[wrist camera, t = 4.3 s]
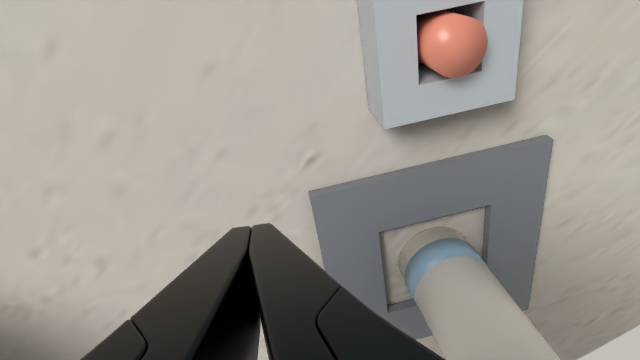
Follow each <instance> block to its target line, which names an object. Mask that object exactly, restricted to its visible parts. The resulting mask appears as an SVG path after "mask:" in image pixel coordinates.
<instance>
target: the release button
mask: <svg viewBox="0 0 640 360" xmlns="http://www.w3.org/2000/svg"><path fill="white" fill-rule="evenodd" d="M416 23H417V49H418V61H419V62H421V63H423V64H424V65H426V66H428V67H429V68H431V69H432V70H434V71H436V72H437V73H439V74H441V75H442V76H445V77H447V78H460V77H463V76H465V75H467V74H469V73H471V72H472V71H473V70H474V69H476V68H477V66H478V65H479V64H480V63H481V61H482V60H483V58H484V56H485V53H486V50H487V45H488V37H487V32H486V30H485V28H484V26H483V25H482V24H481V22H479V21H478V20H476V19H475V18H472V17H468V16H465V15H461V14H458V13H454V12H450V11H447V10H438V11H434V12H429V13H424V14H422V15H421V16H420V17H419V18H418V19H417V20H416Z"/></svg>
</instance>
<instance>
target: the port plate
mask: <svg viewBox="0 0 640 360" xmlns="http://www.w3.org/2000/svg"><path fill="white" fill-rule="evenodd" d="M552 145H553V139H552V138H551V137H549V136H547V135H544V136H540V137H536V138H532V139H527V140H523V141H519V142H515V143H511V144H506V145H502V146H498V147H494V148H489V149H485V150H481V151H477V152H473V153H468V154H464V155H460V156H456V157H452V158H447V159H443V160H439V161H435V162H431V163H426V164H422V165H418V166H414V167H410V168H405V169H401V170H397V171H393V172H389V173H384V174H380V175H376V176H372V177H368V178H363V179H359V180H355V181H351V182H347V183H342V184H338V185H334V186H330V187H325V188H321V189H317V190H313V191H309V196H310V201H311V206H312V210H313V215H314V220H315V224H316V229H317V234H318V239H319V243H320V248H321V253H322V257H323V262H324V267H325V271H326V272H327V273H328V274H329V275H330V276H331V277H332V278H333V279H335V280H336V281H337V282H338V283H339V284H340V285H341V286H342V287H344V288H346V289H347V290H348V291H349V292H350V293H351V294H353V295H354V296H355V297H356V298H357V299H359V300H360V301H361V302H362V303H364V304H365V305H366V306H367V307H369V308H370V309H371V310H372V311H374V312H375V313H376V314H378V315H379V316H381V317H382V318H384V319H385V320H386V321H388V322H389V323H391V324H392V325H394V326H395V327H396V328H398V329H399V330H401V331H402V332H404V333H406V334H407V335H409V336H410V337H412V338H413V339H415V340H416V339H420V338H424V337H427V336H431V335H433V334H432V332H431V330H430V328H429V326H428V324H427V322H426V320H425V318H424V316H423V315H422V313H421V311H420V309H419V307H418V306H417V304H416V303H415V301H414V299H412V300H408V301H404V302H400V303H397V304H393V305H389V306H387V301H386V292H385V284H384V275H383V266H382V257H381V248H380V239H379V232H383V231H387V230H391V229H395V228H399V227H403V226H407V225H411V224H415V223H419V222H423V221H427V220H431V219H435V218H439V217H443V216H447V215H451V214H455V213H459V212H463V211H467V210H471V209H475V208H479V207H483V206H485V222H484V240H483V257H482V260H483V261H484V262H485V263H486V265H487V266H488V269H489V270H490V271H491V272H492V274H493V275H494V276H495V277H496V279H497V280H498V281H499V282H500V284H501V285H502V286H503V287H504V289H505V290H506V291H507V293H508V294H509V295H510V296H511V298H512V299H513V300H514V301H515V303H516V304H517V305H518V306H519V308H520V309H521V310H522V311H524V310H527V309H528V307H529V300H530V293H531V286H532V280H533V273H534V266H535V259H536V253H537V246H538V239H539V232H540V226H541V219H542V212H543V206H544V199H545V192H546V185H547V179H548V172H549V165H550V158H551V152H552Z"/></svg>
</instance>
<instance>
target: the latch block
mask: <svg viewBox="0 0 640 360" xmlns="http://www.w3.org/2000/svg"><path fill="white" fill-rule="evenodd" d="M523 1H524V0H357V4H358V13H359V22H360V31H361V41H362V50H363V59H364V69H365V78H366V87H367V97H368V106H369V111H370V113H371V114H372V115H373V116H374V117H375V119H376V120H377V121H378V122H379V123H380V125H381V126H382V127H383V128H384V129H389V128H393V127H398V126H402V125H406V124H411V123H415V122H419V121H424V120H428V119H432V118H437V117H441V116H446V115H450V114H454V113H459V112H463V111H467V110H472V109H476V108H480V107H485V106H489V105H493V104H498V103H502V102H506V101H511V100H515V91H516V80H517V68H518V57H519V46H520V35H521V23H522V12H523ZM453 7H456V13H458V14H461V15H465V16H468V17H472V18H475V19H476V20H478V21H479V22H481V24H482V25H483V26H484V28H485V30H486V32H487V37H488V45H487V50H486V53H485V56H484V58H483V60H482V61H481V63H480V64H479V65H478V66H477V68H476V69H474V70H473V71H472V72H471V73H469V74H467V75H465V76H463V77H460V78H447V77H445V76H442V75H441V74H439V73H437V72H436V71H434V70H432V69H431V68H429V67H428V66H426V65H423V66H419V67H418V49H417V23H416V15H419V14H424V13H429V12H434V11H438V10H443V9H448V8H453Z"/></svg>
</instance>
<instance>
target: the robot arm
mask: <svg viewBox="0 0 640 360" xmlns="http://www.w3.org/2000/svg"><path fill="white" fill-rule="evenodd" d="M260 317H261V318H260ZM260 322H261V323H262V328H263V333H264V338H265V343H266V348H267V353H268V357H269V360H445V359H444V358H442V357H441V356H439V355H437V354H436V353H434V352H433V351H431V350H430V349H428V348H427V347H425V346H424V345H422V344H421V343H419V342H418V341H416V340H415V339H413V338H412V337H410V336H409V335H407V334H406V333H404V332H402V331H401V330H399V329H398V328H396V327H395V326H394V325H392V324H391V323H389V322H388V321H386V320H385V319H384V318H382V317H381V316H379V315H378V314H376V313H375V312H374V311H372V310H371V309H370V308H369V307H367V306H366V305H365V304H364V303H362V302H361V301H360V300H359V299H357V298H356V297H355V296H354V295H353V294H351V293H350V292H349V291H348V290H347V289H346V288H344V287H342V286H341V285H340V284H339V283H338V282H337V281H336V280H335V279H333V278H332V277H331V276H330V275H329V274H328V273H327V272H325V271H324V270H323V269H322V268H321V267H320V266H319V265H318V264H316V263H315V262H314V261H313V260H312V259H311V258H310V257H308V256H307V255H306V254H305V253H304V252H303V251H302V250H300V249H299V248H298V247H297V246H296V245H295V244H294V243H292V242H291V241H290V240H289V239H288V238H287V237H286V236H284V235H283V234H282V233H281V232H280V231H279V230H278V229H277V228H275V227H274V226H273V225H272V224H270V223H267V224H259V225H254V226H253V227H252V228H251V227H249V226H245V227H237V228H233V229H231V230H230V231H229V232H227V233H226V234H225V235H224V236H223V237H222V238H221V239H220V240H218V241H217V242H216V243H215V244H214V245H213V246H212V247H210V248H209V249H208V250H207V251H206V252H205V253H204V254H203V255H201V256H200V257H199V258H198V259H197V260H196V261H195V262H193V263H192V264H191V265H190V266H189V267H188V268H187V269H186V270H184V271H183V272H182V273H181V274H180V275H179V276H178V277H176V278H175V279H174V280H173V281H172V282H171V283H170V284H168V285H167V286H166V287H165V288H164V289H163V290H162V291H161V292H159V293H158V294H157V295H156V296H155V297H154V298H153V299H151V300H150V301H149V302H148V303H147V304H146V305H145V306H143V307H142V308H141V309H140V310H139V311H138V312H137V313H136V314H134V315H133V316H132V317H131V319H130V320H127V321H125V322H124V323H123V324H122V325H121V326H120V327H119V328H117V329H116V330H115V331H114V332H113V333H112V334H110V335H109V336H108V337H107V338H106V339H105V340H103V341H102V342H101V343H100V344H99V345H97V346H96V347H95V348H94V349H93V350H91V351H90V352H89V353H88V354H87V355H86V356H84V357H83V358H82V359H81V360H257V357H258V347H259V336H260Z"/></svg>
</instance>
